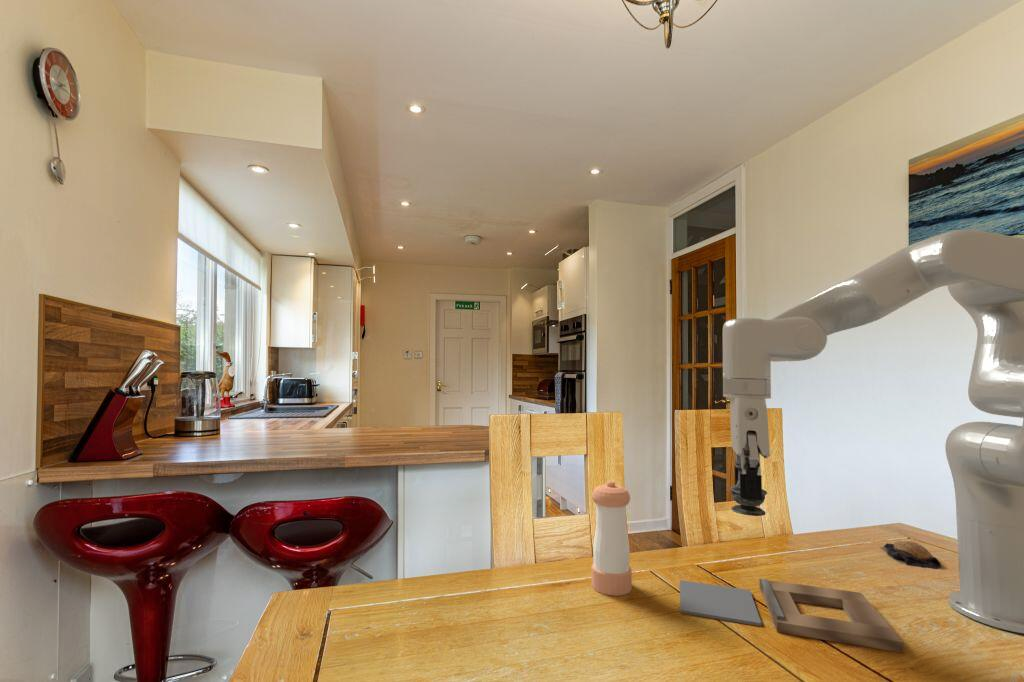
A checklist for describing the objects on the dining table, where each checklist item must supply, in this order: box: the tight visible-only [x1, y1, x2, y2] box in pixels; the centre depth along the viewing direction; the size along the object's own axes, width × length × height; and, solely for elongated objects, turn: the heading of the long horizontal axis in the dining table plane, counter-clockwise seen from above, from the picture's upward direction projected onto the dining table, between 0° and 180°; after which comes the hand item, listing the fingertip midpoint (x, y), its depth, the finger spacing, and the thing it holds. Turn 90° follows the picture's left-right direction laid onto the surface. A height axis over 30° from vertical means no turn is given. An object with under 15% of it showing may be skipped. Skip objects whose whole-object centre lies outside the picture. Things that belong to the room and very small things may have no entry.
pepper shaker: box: [591, 480, 633, 596], centre depth 88 cm, size 7×7×19 cm
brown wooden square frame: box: [758, 578, 904, 653], centre depth 78 cm, size 16×16×2 cm
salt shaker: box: [728, 453, 768, 517], centre depth 82 cm, size 6×6×12 cm
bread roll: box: [880, 540, 944, 570], centre depth 103 cm, size 11×8×4 cm
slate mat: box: [679, 579, 763, 627], centre depth 82 cm, size 12×12×1 cm
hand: (747, 493), depth 82 cm, fingers closed on salt shaker, 5 cm apart
